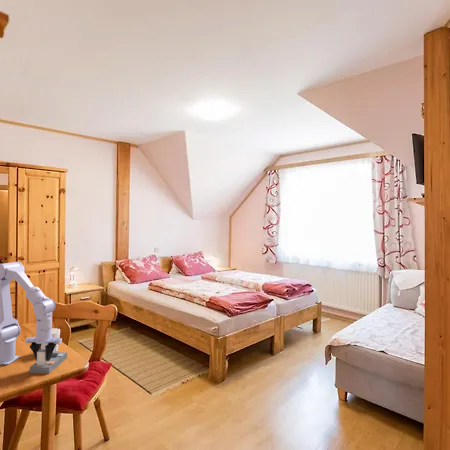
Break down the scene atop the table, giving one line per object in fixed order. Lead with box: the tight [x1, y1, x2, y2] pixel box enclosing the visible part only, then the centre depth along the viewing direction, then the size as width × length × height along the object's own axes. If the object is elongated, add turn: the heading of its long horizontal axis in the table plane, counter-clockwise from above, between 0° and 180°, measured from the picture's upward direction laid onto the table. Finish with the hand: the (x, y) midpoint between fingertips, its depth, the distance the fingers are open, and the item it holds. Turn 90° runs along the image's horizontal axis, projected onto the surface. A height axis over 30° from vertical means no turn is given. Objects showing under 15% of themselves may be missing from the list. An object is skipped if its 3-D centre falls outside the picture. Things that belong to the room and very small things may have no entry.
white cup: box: [41, 327, 61, 352], centre depth 151 cm, size 8×8×10 cm
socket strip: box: [29, 351, 68, 374], centre depth 138 cm, size 8×15×3 cm, turn 1°
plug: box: [36, 347, 49, 366], centre depth 134 cm, size 3×3×9 cm
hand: (43, 359), depth 134 cm, fingers open, 4 cm apart
